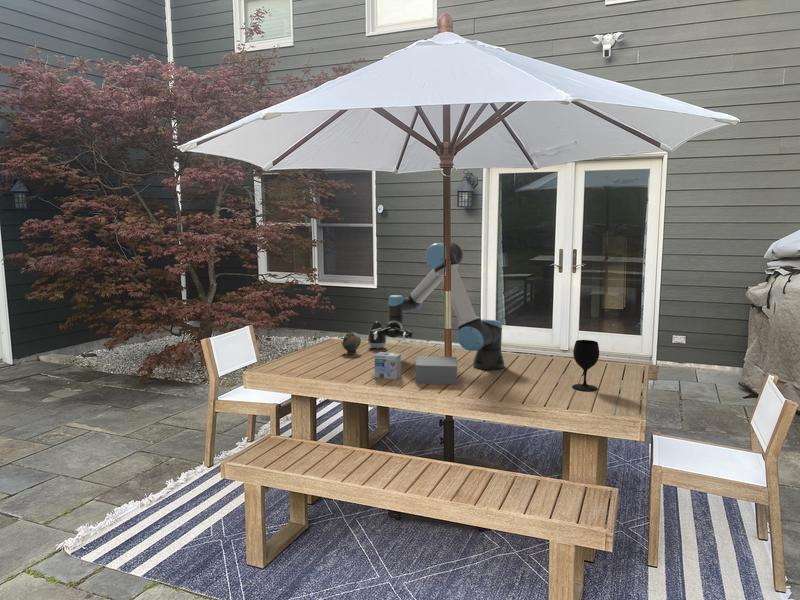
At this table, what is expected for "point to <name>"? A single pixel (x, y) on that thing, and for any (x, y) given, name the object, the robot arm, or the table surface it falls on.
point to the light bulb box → (387, 365)
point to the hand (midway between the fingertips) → (389, 337)
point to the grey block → (436, 370)
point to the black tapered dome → (381, 339)
